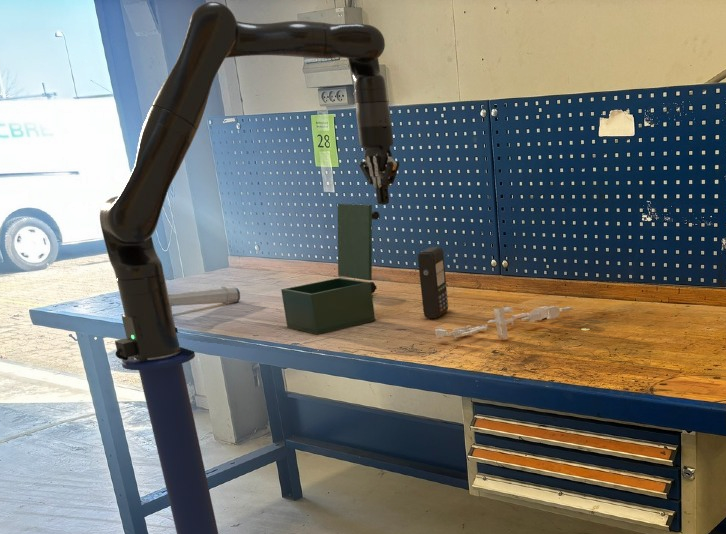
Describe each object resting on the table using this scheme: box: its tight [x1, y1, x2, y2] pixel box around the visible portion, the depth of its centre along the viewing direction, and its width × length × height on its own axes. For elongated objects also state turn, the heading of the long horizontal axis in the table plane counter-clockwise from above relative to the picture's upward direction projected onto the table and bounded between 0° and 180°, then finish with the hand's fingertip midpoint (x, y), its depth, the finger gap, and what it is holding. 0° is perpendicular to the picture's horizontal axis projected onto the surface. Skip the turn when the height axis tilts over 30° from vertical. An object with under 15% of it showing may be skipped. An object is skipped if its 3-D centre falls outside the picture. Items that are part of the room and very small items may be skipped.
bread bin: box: [280, 277, 376, 335], centre depth 194 cm, size 16×13×9 cm
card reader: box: [417, 246, 449, 319], centre depth 194 cm, size 9×4×15 cm, turn 168°
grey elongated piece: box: [434, 305, 574, 341], centre depth 177 cm, size 6×35×12 cm
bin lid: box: [337, 203, 380, 281], centre depth 196 cm, size 16×13×6 cm
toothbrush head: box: [168, 286, 241, 310], centre depth 219 cm, size 5×7×25 cm
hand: (383, 203), depth 198 cm, fingers closed
